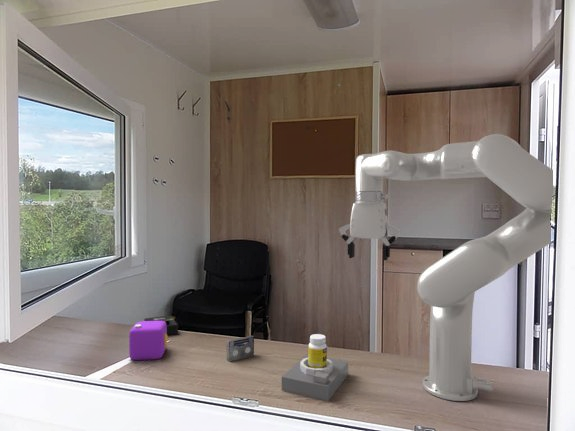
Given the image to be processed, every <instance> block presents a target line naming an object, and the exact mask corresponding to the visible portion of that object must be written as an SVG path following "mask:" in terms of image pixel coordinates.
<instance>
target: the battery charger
mask: <svg viewBox="0 0 575 431" xmlns="http://www.w3.org/2000/svg"><path fill="white" fill-rule="evenodd" d="M143 321H165V322H166V325H167V336H168V337H171V336H178V335H179V324H178V323H177V322H176V321H175V319H174V317H173V316H172V314H171V315H164V316H155V317H147V318H144V320H143Z"/></svg>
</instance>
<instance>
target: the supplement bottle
mask: <svg viewBox="0 0 575 431" xmlns="http://www.w3.org/2000/svg"><path fill="white" fill-rule="evenodd" d="M326 340H327V338H326V336H325V335H324V334H321V333H315V334H314V333H313V334H311V335H310V337H309V343H308V367H310V368H325V367H327V358H328V355H327V354H328V345H327V344H326V342H327V341H326Z"/></svg>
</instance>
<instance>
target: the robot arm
mask: <svg viewBox="0 0 575 431" xmlns="http://www.w3.org/2000/svg"><path fill="white" fill-rule="evenodd" d="M553 170H554V169H552V168H551V167H549V166H548V165H546V164H545V163H544V162H542V161H541V160H539V159H538V158H537V157H535V156H534V155H532V154H531V153H529V152H528V151H527V150H525V149H524V148H523V147H522V146H521V144H519V143H518V141H516V140H514V139H513V138H511V137H509V136H508V135H505V134H501V133H493V134H489V135H485V136H483V137H482V138H481V139H479V140H474V141H466V142H454V143H447V144H445V145H443V146H442V147H440V149H438V150H437V149H436V150H432V151H430V152H429V151H428V152H421V153H405V152H402V151H396V150H383V151H381V152H376V153H362V154H359V155H358V156H356V159H355V196H354V197H355V201H354V202H353V204H352V207H351V213H350V221H349V223H347V224H345V225H344V226H341V227H339V228H338V231H339V234H340V236H341V238H342V239H343V240H344V241H345V243H346V244H347V256H348V258H349V259H352V258H354V257H355V254H356V253H355V243H354V241H355V240H356V239H371V240H374V239H376V240H379V239H380V240H381V242H382V243H383V244H384V245H383V246H382V247H383V248H382V252H383V253H382V260H383V261H387V260H388V259H389V258H390V256H391V245H392V244H393V243H394V242H395V241H396V240H397V238H398V237H399V235H400V234H401V230H400V229H398V228H397V227H395V226H393V225H391V224H389V222H388V220H389V219H388V211H387V205H386V203H384V200H388V198H389V195H388V193H384V192H383V191H384V190H383V188H384V187H383V185H384V182H383V181H384V179H388V180H393V181H394V180H397V181H405V182H406V181H409V182H410V181H424V180H425V181H426V180H452V179H468V178H487V179H489V181H491V182H492V183H494V184H495V185H496V186H498V187H499V188H500V189H501V190H502V191H503V192H505V193H506V194H507V195H508V196H510V197H511V198H512V199H513V200H514V201H516V202H517V203H518V204H520V205H521V206H523V207H525V209H524V210H523V211H522V212H520V213H519V214H518V215H516V216H515V217H513V218H512V219H510V220H508V221H507V222H506V223H504V224H503V225H502V226H500V227H499V228H497V229H496V230H494V231H492V232H490V233H489V234H488V235H487V234H486V235H485V236H483V237H478V238H475V239H471V240H468V241H466V242H464V243H462V244H461V245H459V246H458V247H456V248H455V249H453V250H452V251H450V252H448V253H447V254H446V255H445V256H443V257H441V258H440V259H438V260H436V262H434V263H432V264H431V265H430V266H428V267H427V268H426V269H424V270H423V271H422V272H421V273H420V275H419V277H418V280H417V283H416V284H417V286H416V288H417V293H418V295H419V297H420V299H421V300H422V301H423V302H424V303H425V304H427V305H429V306H430V314H429V315H430V316H429V317H430V318H429V364H428V365H429V371H428V372H429V374H428V375H426V376H424V377H423V379H422V387H423V389H424V390H426V392H428V393H429V394H431V395H433V396H435V397H437V398H440V399H443V400H447V401H454V402H467V401H472V400H474V399H476V398H477V397H478V394H479V390H483V391H485V392H493V383H492V382H487V379H486V378H481V377H480V378H479V377H476V375H473V370H472V342H473V340H472V339H473V338H472V337H473V336H472V335H473V332H472V331H473V309H474V302H475V292H477V291H479V290H481V289H482V288H484V287H486V286H488V285H489V284H491V283H492V282H494V281H496V280H497V279H499V278H501V277H502V276H503V275H505V274H507V272H508V271H509V270H510V269H512V268H515V266H517V265H519V264H520V263H522V262H523V261H525V260H527V259H529V258H530V257H532V256H533V255H534V254H536V253H538V252H540V251H541V250H542V249H544V248H546V247H547V246H549V245H550V244H552V242H551V225H550V214H551V202H552V195H553ZM348 229H349V233H350V234H349V235H350V236H348V234H347V233H346V231H347V230H348ZM389 231H391V232H392V233H393V234H392V236H391V237H389V238H388V235H389Z"/></svg>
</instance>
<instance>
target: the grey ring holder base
mask: <svg viewBox="0 0 575 431" xmlns="http://www.w3.org/2000/svg"><path fill="white" fill-rule="evenodd" d="M348 375H349V361H346V360H340V359H337V358H336V359H335V358H330V357H327V367H325V368H310V367H308V354H305V355H304V356H303V357H302V358H301V359H300V360H299V361H297V363H295V364H294V365H292V367H291V368H289V369H288V371H287V372H285V373H283V375H282V376H281V391H282V390H283V391H282V392H286V391H287V393H290V392H291V393H290V394H295V395H300V396H304V397H307V398H308V397H309V398H312V399H317V400H320V401H324V402H329V400H331V398H332V397H333V396H334V394H335V393H336V392H337V390H339V388H340V386H341V385H342V383H343V382H344V381H345V379H346V378H347V377H348Z"/></svg>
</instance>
